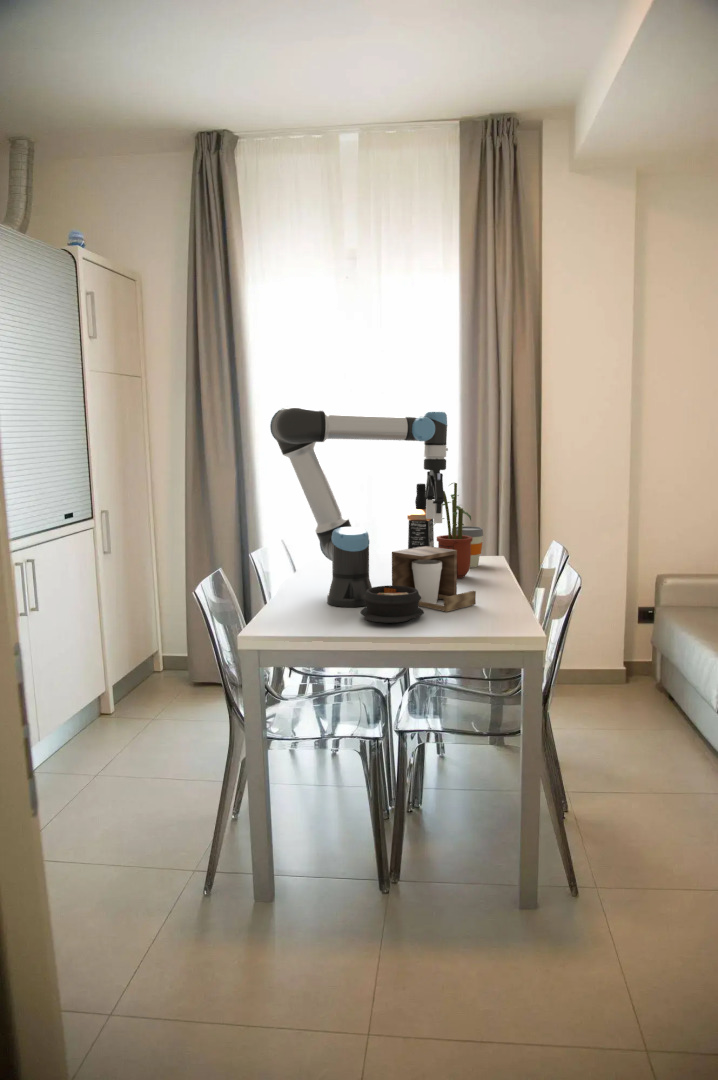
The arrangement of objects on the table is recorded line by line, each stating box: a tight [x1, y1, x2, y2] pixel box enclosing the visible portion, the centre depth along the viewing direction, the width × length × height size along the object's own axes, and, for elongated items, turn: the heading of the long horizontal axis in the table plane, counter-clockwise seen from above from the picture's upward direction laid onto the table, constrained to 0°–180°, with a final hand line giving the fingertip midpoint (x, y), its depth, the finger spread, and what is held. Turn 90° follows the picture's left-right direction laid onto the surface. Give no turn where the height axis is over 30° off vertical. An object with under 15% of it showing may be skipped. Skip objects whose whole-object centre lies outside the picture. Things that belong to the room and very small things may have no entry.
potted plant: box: [430, 482, 473, 580], centre depth 298 cm, size 17×16×35 cm
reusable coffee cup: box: [451, 525, 484, 569], centre depth 322 cm, size 13×13×15 cm
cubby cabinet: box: [391, 546, 458, 596], centre depth 258 cm, size 16×13×16 cm
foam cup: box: [412, 559, 442, 604], centre depth 257 cm, size 10×9×13 cm
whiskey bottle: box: [407, 483, 435, 549], centre depth 332 cm, size 10×10×32 cm
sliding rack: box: [418, 590, 477, 613], centre depth 255 cm, size 14×20×4 cm
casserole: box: [360, 585, 425, 624], centre depth 236 cm, size 25×19×8 cm
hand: (433, 520), depth 276 cm, fingers open, 13 cm apart
